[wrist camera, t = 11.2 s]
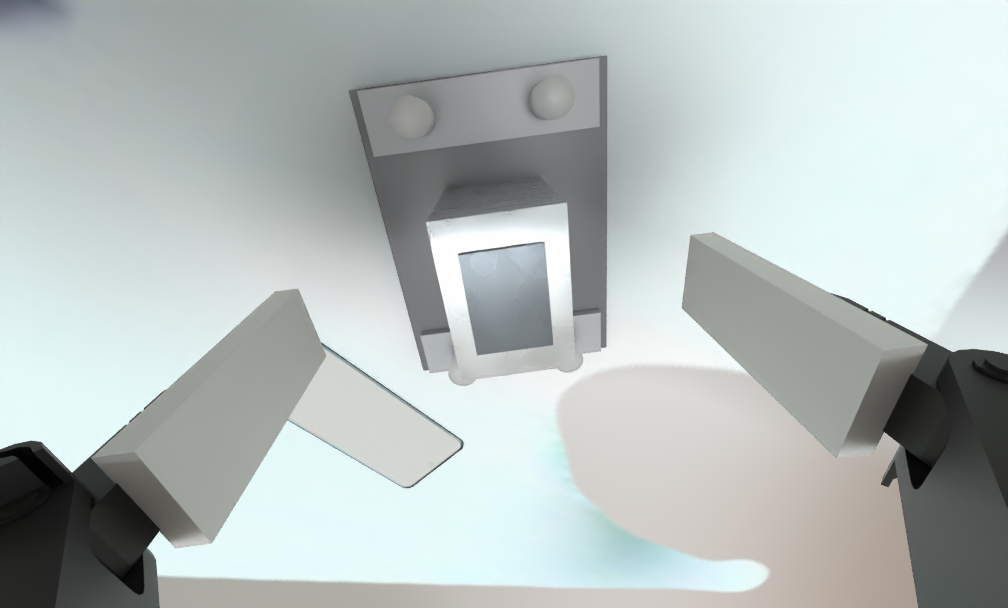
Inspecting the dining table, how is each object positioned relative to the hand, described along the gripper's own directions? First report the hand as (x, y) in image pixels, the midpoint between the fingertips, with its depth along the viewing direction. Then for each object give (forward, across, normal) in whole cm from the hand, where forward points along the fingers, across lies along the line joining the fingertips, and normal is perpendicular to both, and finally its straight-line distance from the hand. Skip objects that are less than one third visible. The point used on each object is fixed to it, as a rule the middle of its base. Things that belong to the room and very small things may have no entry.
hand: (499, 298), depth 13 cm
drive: (+8, 0, -1) cm, 9 cm away
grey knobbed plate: (+9, 0, -1) cm, 9 cm away
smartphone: (+10, -11, -13) cm, 20 cm away
